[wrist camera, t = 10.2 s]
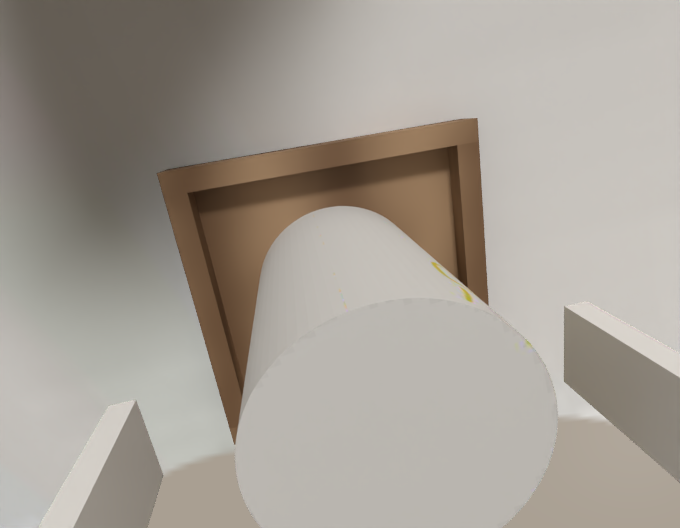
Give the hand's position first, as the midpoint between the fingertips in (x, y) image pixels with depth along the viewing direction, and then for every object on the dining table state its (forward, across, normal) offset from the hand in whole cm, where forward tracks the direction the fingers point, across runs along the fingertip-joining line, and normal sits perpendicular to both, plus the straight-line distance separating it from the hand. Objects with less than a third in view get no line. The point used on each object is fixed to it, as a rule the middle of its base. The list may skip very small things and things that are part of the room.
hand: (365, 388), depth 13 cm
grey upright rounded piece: (+10, +1, 0) cm, 10 cm away
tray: (+10, +1, 0) cm, 10 cm away
